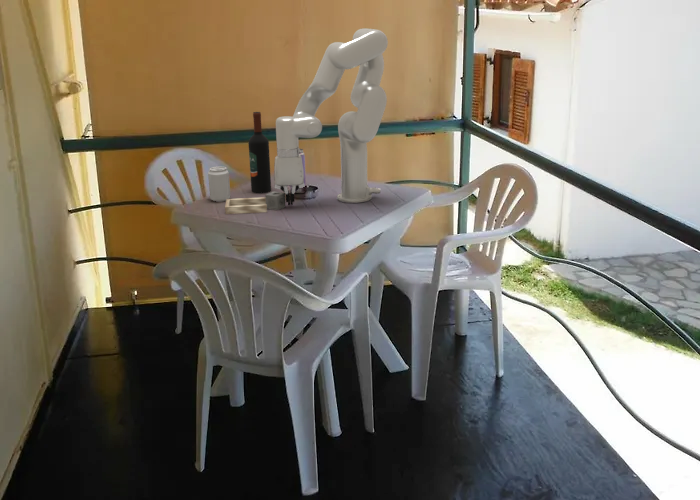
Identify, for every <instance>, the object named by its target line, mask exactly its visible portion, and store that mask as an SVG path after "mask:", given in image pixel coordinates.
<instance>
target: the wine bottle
mask: <svg viewBox="0 0 700 500" xmlns="http://www.w3.org/2000/svg"><path fill="white" fill-rule="evenodd" d="M252 117H253V119H252V120H253V132H254V133H253V135H252V136H251V137H250V138H249V140H248V153H249V154H248V156H249V157H248V160H249V174H250V189H251V190H250V191H251V193H253V194H268V193H271V192H272V179H271V162H270V161H271V160H270V157H271V156H270V144H269V143H270V142H269V139H268V137H266V136H265V135H264V134H263V132H262V131H263V130H262V129H263V128H262V113H261V111H253V113H252Z"/></svg>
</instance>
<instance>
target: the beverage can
mask: <svg viewBox="0 0 700 500" xmlns="http://www.w3.org/2000/svg"><path fill="white" fill-rule="evenodd" d="M299 155H300V156H301V158H302V163H303V173H304V184H305V186H306V187H307V179H306V178H307V176H306V155H305V152H304V151H303V153H300V154H299ZM289 189H290V190H289V192H291V189H292V185H290V186H289Z"/></svg>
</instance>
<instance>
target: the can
mask: <svg viewBox="0 0 700 500" xmlns="http://www.w3.org/2000/svg"><path fill="white" fill-rule="evenodd" d="M227 169H228V167H226V166H219V165H218V166H213V167H210V168H209V170H208V172H207V178H208V188H209V191H208V192H209V199H210V200H211V201H212V200H213V202H215V201H216V202H217V203H221V202H226V199H231V187H230V185H231V184H230V173H229V170H227ZM216 202H215V203H216Z"/></svg>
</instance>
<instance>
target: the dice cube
mask: <svg viewBox="0 0 700 500" xmlns="http://www.w3.org/2000/svg"><path fill="white" fill-rule="evenodd" d="M264 196H265V200H266V204H267V210H274V211H279V210H281V209H283V208H286V205H287V204H286V203H287V202H286V194H285V193H284V192H283V191H282V192H280V191H270V192H268V193H265V194H264Z"/></svg>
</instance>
